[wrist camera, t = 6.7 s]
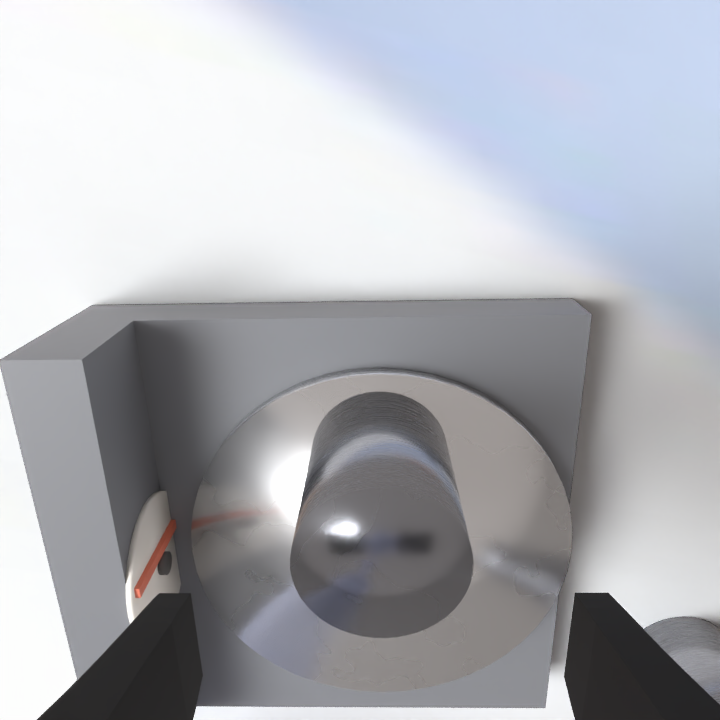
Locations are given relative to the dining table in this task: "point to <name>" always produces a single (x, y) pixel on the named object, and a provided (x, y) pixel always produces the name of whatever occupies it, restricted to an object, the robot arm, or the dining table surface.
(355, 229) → the dining table surface
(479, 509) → the pan
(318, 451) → the cylinder
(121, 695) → the robot arm
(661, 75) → the dining table surface
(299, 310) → the scale
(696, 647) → the cylinder
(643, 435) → the dining table surface
